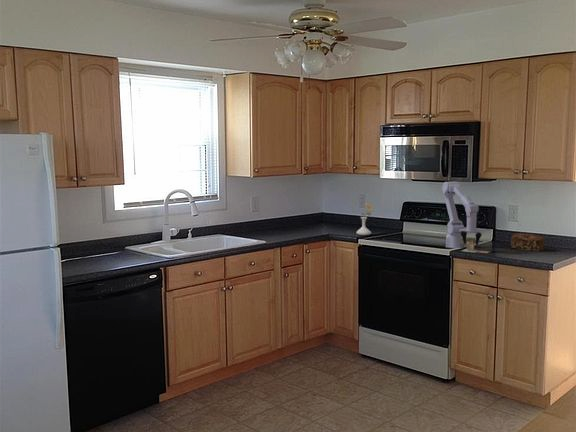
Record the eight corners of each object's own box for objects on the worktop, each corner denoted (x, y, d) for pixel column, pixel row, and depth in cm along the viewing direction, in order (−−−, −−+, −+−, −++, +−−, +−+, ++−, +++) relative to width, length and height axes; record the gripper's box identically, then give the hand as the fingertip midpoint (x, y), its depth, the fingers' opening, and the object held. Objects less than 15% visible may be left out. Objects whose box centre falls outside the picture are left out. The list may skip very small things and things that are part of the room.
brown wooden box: (466, 250, 355) (466, 238, 354) (467, 250, 357) (468, 237, 356) (472, 251, 352) (473, 238, 351) (474, 250, 354) (474, 238, 353)
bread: (510, 248, 366) (510, 233, 365) (517, 246, 373) (517, 231, 372) (538, 252, 353) (539, 236, 351) (545, 249, 360) (546, 234, 359)
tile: (481, 252, 355) (477, 253, 350) (481, 250, 355) (477, 252, 350) (490, 253, 351) (486, 254, 346) (490, 251, 351) (486, 253, 346)
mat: (461, 251, 354) (461, 250, 354) (466, 249, 361) (466, 248, 361) (475, 253, 348) (475, 252, 348) (480, 251, 355) (480, 250, 355)
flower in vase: (359, 236, 422) (359, 203, 419) (354, 234, 433) (354, 202, 430) (375, 235, 425) (375, 203, 422) (369, 233, 436) (370, 201, 433)
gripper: (458, 222, 354) (457, 243, 355) (480, 224, 345) (480, 246, 347) (462, 221, 359) (461, 242, 361) (484, 223, 351) (483, 244, 352)
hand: (470, 244), depth 354 cm, fingers open, 7 cm apart
